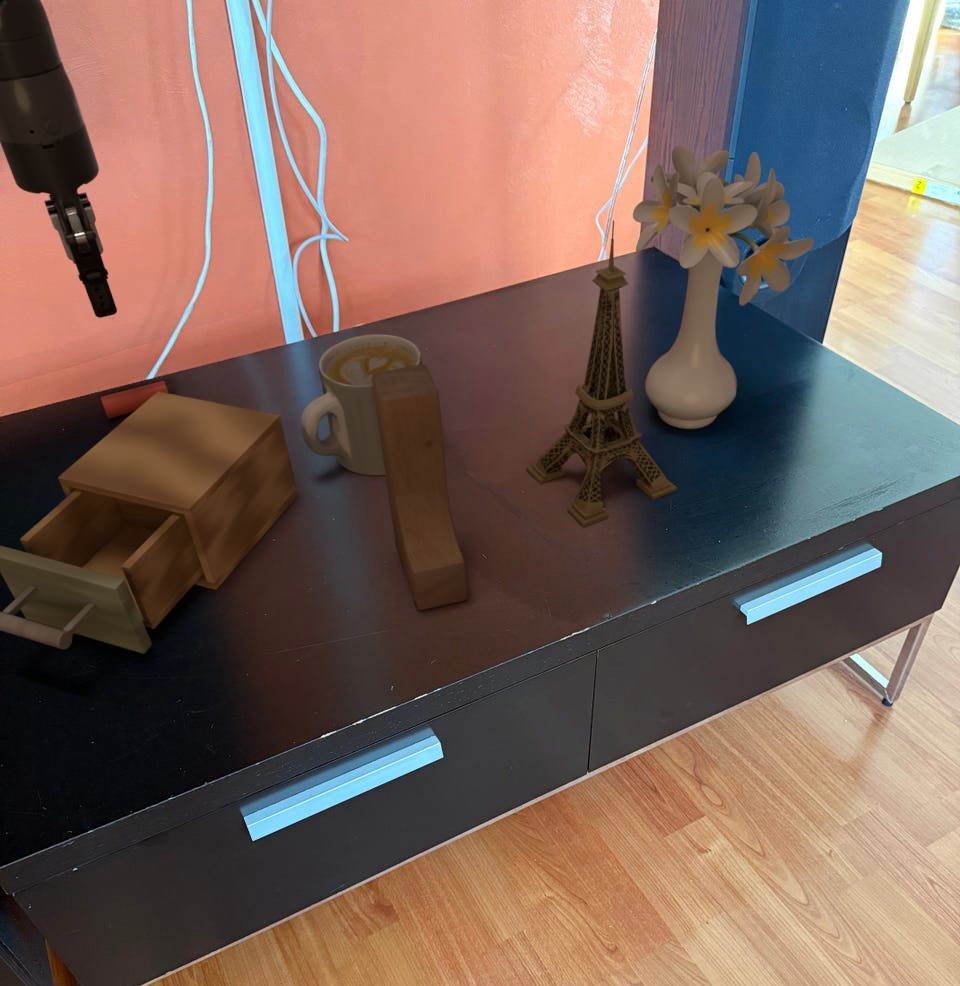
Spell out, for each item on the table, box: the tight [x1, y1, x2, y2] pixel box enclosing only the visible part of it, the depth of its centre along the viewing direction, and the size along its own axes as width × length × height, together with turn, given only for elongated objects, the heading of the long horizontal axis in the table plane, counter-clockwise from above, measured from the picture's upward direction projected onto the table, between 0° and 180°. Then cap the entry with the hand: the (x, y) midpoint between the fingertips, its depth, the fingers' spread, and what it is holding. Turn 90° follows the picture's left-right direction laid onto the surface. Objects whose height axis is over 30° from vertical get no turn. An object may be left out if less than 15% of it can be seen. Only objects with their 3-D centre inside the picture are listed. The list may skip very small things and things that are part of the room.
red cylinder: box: [100, 380, 170, 420], centre depth 105 cm, size 7×2×2 cm, turn 115°
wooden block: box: [372, 363, 468, 611], centre depth 78 cm, size 9×4×18 cm, turn 16°
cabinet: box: [57, 392, 299, 591], centre depth 88 cm, size 15×14×9 cm
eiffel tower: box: [525, 220, 678, 528], centre depth 84 cm, size 11×11×25 cm
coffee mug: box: [300, 333, 423, 476], centre depth 94 cm, size 13×10×10 cm
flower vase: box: [632, 144, 815, 430], centre depth 91 cm, size 13×18×25 cm
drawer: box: [0, 489, 204, 655], centre depth 80 cm, size 18×12×7 cm
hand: (104, 307), depth 97 cm, fingers closed
